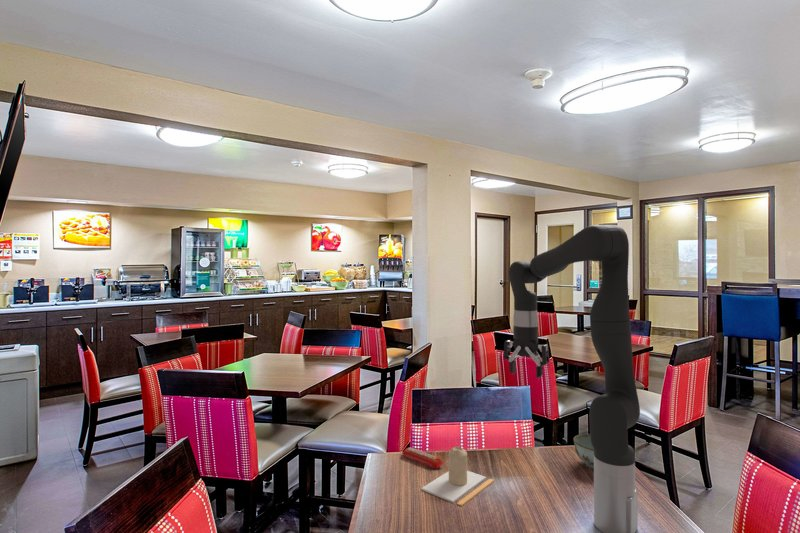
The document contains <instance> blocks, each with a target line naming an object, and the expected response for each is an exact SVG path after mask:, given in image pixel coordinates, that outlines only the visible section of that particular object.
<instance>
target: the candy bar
mask: <svg viewBox="0 0 800 533" xmlns="http://www.w3.org/2000/svg"><path fill="white" fill-rule="evenodd" d="M401 454H402V455H403V456H404V457H405V458H407V459H409V460H410V461H411V460H412V461H413V462H417V463H419V464H422V465H424V466H427V467H428V468H429V467H430V468H432V469H439V468H440V467H441V466H442V465H444V463H443V461H442V460H441V458H440V457H438V456H435V455H433V454H430V453H428V452H425V451H423V450H420V449H417V448H414V447H411V446H409V447H406V448H405V449H404V450H403V452H402V453H401Z"/></svg>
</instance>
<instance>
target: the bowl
mask: <svg viewBox="0 0 800 533" xmlns="http://www.w3.org/2000/svg"><path fill="white" fill-rule="evenodd" d="M573 444H574V445H573V446H574V451H575V453H576V455H577V457H578V458H579V459H580V460H581V461H582V463H584V464H585V466H586V467H587V468H589V469H590V470H593V471H594V449H593V446H592V444H591V439H590V433H581V434H577V435H575V436H574V437H573Z"/></svg>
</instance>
